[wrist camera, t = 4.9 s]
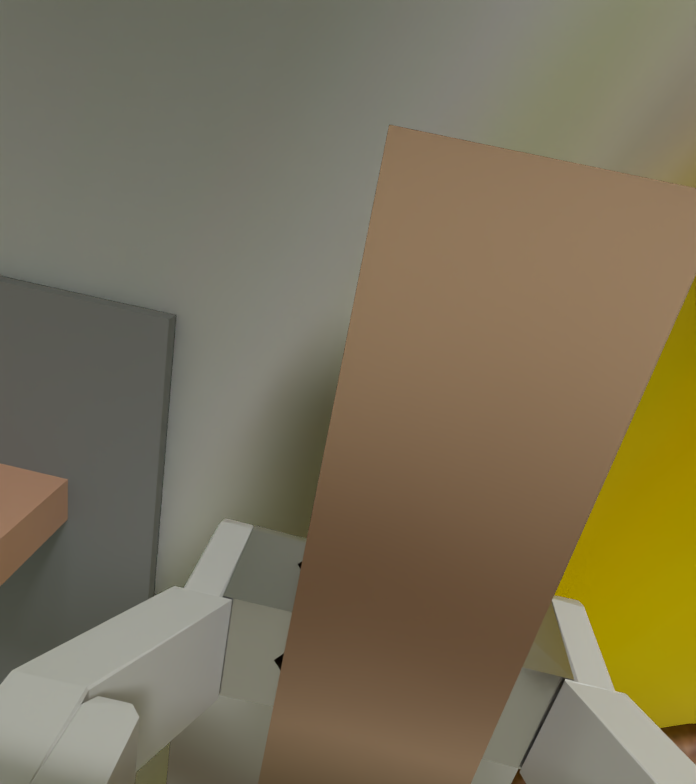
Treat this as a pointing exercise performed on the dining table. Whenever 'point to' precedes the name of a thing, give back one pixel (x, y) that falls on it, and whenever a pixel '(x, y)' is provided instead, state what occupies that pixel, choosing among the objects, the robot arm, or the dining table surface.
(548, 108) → the dining table surface
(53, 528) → the tile
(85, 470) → the mat
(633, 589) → the dining table surface
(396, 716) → the turner
